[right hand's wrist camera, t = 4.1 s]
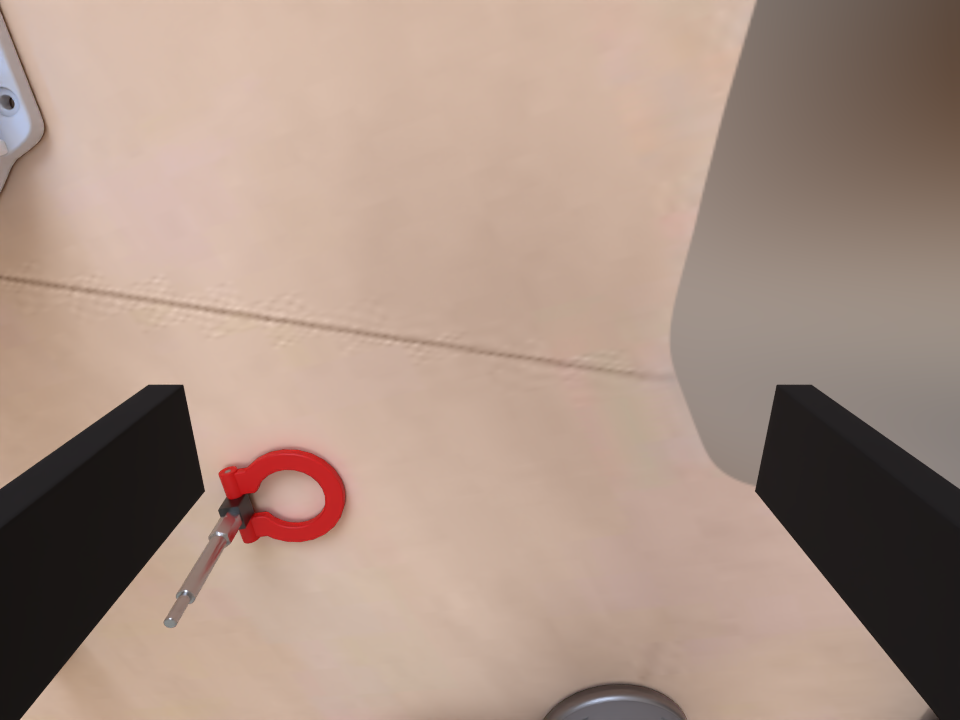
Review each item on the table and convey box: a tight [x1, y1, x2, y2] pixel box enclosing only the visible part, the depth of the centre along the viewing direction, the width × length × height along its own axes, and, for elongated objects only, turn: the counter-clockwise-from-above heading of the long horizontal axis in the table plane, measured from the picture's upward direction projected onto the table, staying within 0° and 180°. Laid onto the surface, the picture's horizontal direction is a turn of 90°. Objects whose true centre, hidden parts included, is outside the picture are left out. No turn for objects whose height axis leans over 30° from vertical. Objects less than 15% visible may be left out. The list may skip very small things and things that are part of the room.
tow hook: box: [164, 449, 345, 628], centre depth 40 cm, size 8×13×9 cm
